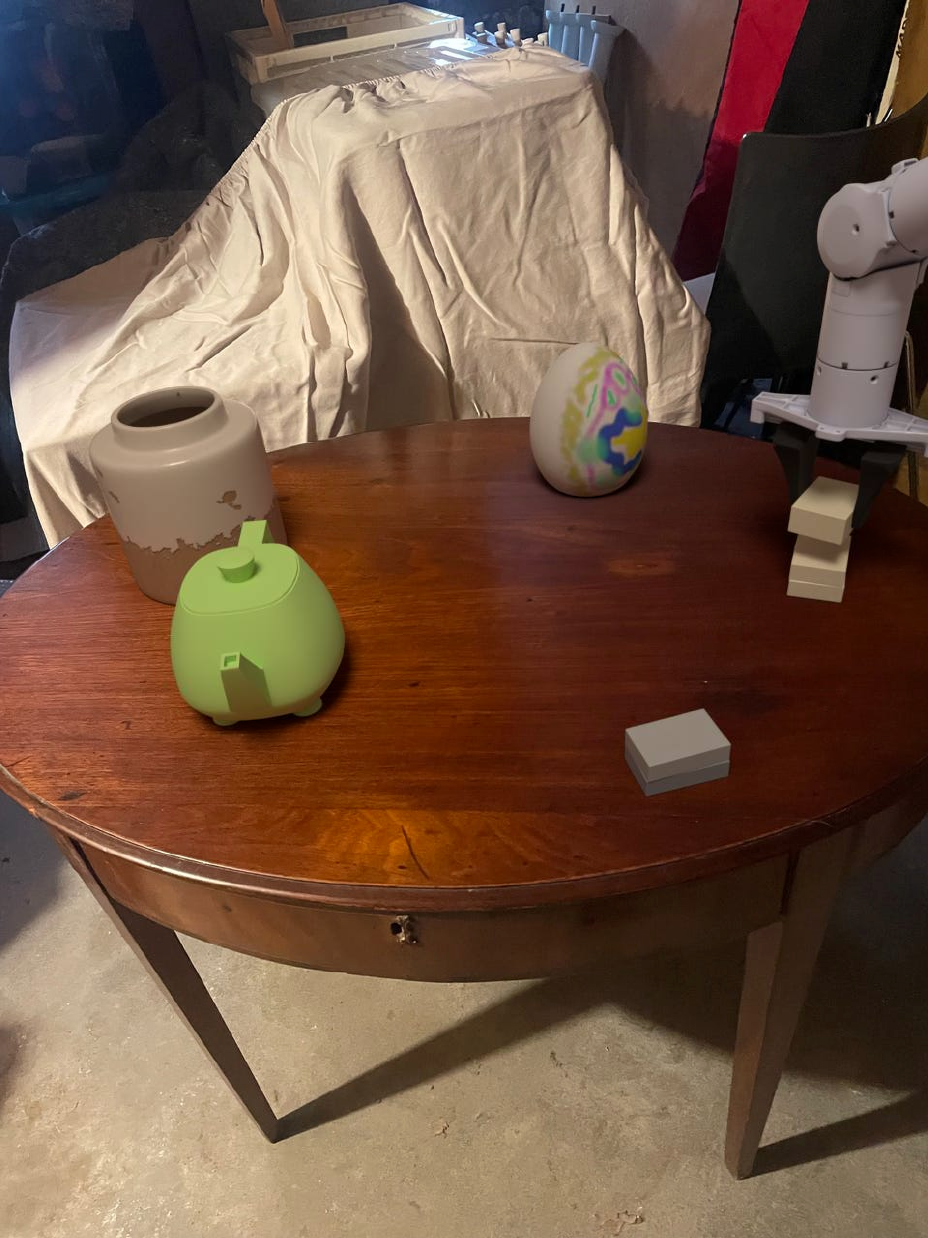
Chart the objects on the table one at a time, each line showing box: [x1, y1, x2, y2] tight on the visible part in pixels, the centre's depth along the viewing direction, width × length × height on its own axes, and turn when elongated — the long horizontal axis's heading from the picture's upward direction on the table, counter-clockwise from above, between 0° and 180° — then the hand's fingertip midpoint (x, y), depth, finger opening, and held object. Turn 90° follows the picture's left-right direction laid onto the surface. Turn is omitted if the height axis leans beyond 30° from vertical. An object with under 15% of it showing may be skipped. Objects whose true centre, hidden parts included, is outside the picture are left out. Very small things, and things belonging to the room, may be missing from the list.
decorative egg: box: [529, 341, 649, 498], centre depth 91 cm, size 12×12×15 cm
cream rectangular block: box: [787, 475, 859, 545], centre depth 73 cm, size 6×4×2 cm
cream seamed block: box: [786, 534, 852, 604], centre depth 76 cm, size 6×4×3 cm
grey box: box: [624, 708, 732, 798], centre depth 60 cm, size 6×4×3 cm, turn 104°
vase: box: [88, 385, 289, 606], centre depth 83 cm, size 15×15×17 cm
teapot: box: [170, 520, 346, 727], centre depth 68 cm, size 20×13×13 cm
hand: (827, 515), depth 73 cm, fingers closed on cream rectangular block, 4 cm apart
